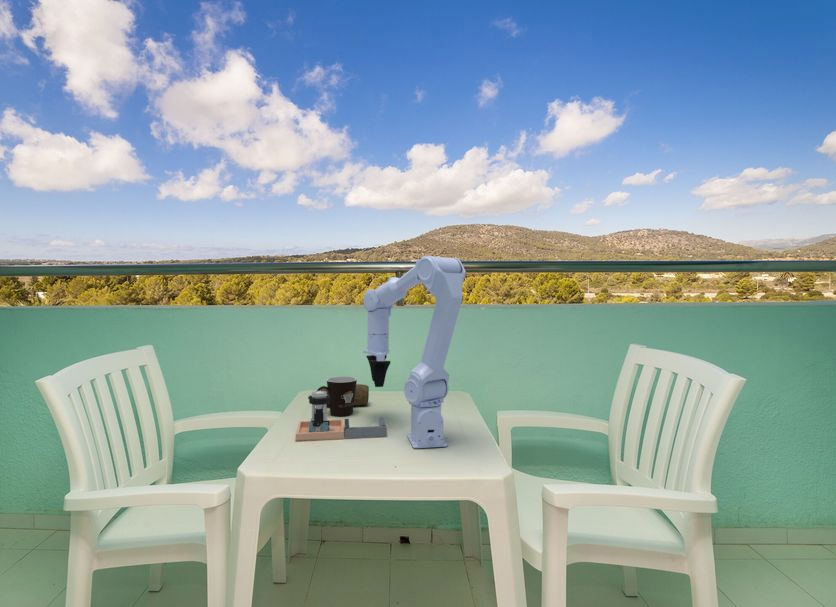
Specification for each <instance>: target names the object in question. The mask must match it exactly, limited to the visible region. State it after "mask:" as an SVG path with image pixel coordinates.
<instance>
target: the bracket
mask: <svg viewBox="0 0 836 607" xmlns="http://www.w3.org/2000/svg"><path fill="white" fill-rule="evenodd" d="M349 420H350V419H349V418H344V425H343V429H344V439H345V440H347V439H349V440H350V439H370V438H372V439H373V438H387V436H388V435H387V433H388V429H387V424H386V422H385V419H384V417H382V416H380V417H378V425H376V426H375V425H374V426H357V427H356V426H354V427H351V426H350V422H349Z"/></svg>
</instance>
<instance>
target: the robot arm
mask: <svg viewBox="0 0 836 607" xmlns="http://www.w3.org/2000/svg"><path fill="white" fill-rule="evenodd" d="M466 273H467V271H466V270H465V267H464V265H463V263H462V262H461V260H460V259H459V258H457V257H443V256H441V257H439V256H432V255H428V254H427V255H424V256H422V257H421V258H420V259H418V260H416V261H415V265H414V266H412V268H410V269H409V270H408V271H406V273H405V274H403V275H402V276H401V277H394V276H391V277H389V278H388V279H387V281H386V282H385V283H383V284H381V285H379V286H378V287H377V288H376V289H371V288H368V289H367V291H366V292H365V293H364V295H363V302H362V303H363V307H364V308H365V310H367V349H363V350H362V352H363V354H367V355H366V356H365V357H366V358H367V361H368V364H369V368H370V374H371V380H372V381H373V382H374V383H373V384H374V386H375V388H383V387H384V386H385V385H384V384H385V380H386V375H387V372H388V369H389V366H390V365H391V360H386V359H387V355H388V354H390V349H389V345H390V344H389V340H390V338H389V336H390V332H389V330H390V327H389V326H390V317H391V316H392V308H393V307H394V304H395V303H397V302H398V301H400V300H402V299H403V298H405V297H406V296H407V294H408V290H409V289H411V288H414V287H416V285H419V284H422V285H423V286H424V287H425V288H426V291H428V292H429V293H430V295H432V296H433V297H434V299H435V301H436V302H435V305H434V308H433V313H432V317H431V320H430V321H431V322H430V325H429V329H428V333H427V335H426V336H427V337H426V340H425V344H424V348H423V353H422V356H421V360H420V363H419V364H417V365H416V366H414V367H413V369H412V370H411V371H410V374H409V376H408V378H407V379H406V381H405V383H404V386H403V393H404V396H405V398H406V400H407V401H408V405H410V407H411V408H410V410H411V411H410V432H409V433H406V436H407V438H408V440H409V442H410V444H411V445H412V446H411V447H412V448H414V449H424V448H425V449H428V448H445V447H448V444H447V442H446V441H445V439H444V417H443V415H442V404H444V399H445V398H446V397H447V396H448V394H449V393H448V392H449V388H450V387H449V379H450V374H449V372H448V371H447V369H446V368H444V367H445V363H446V360H447V355H448V352H449V349H450V345H451V341H452V338H453V334H454V331H455V327H456V323H457V319H458V316H459V313H460V309H461V305H462V301H463V284H464V280H465V276H466Z"/></svg>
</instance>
